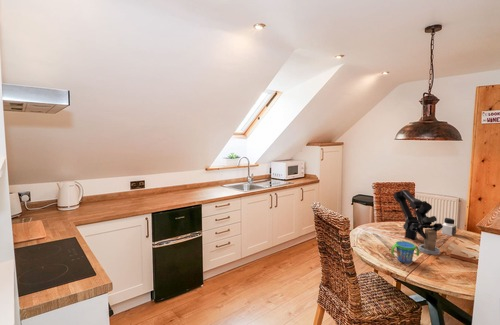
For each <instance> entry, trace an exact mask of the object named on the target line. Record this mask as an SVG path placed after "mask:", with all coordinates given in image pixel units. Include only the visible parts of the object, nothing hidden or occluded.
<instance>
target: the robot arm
mask: <svg viewBox="0 0 500 325" xmlns="http://www.w3.org/2000/svg"><path fill="white" fill-rule="evenodd" d="M393 198H394V200H395V202H396V203H399V205H400V208H401V210H402V213H403V215H404V217H405V222H404V224H403V226H402V227H403V229H404V230H405V234H404V238H405V239H410V240H413V241H414V240H416V239H417V237H418V234H419V235H420V236H421V237H422V238H423V240H424V239H426V236H425V230H424V229H433V230H435V231H436V232H437V234H438V231H441V230H442V228H443V225H442V223H439V222H438V223H435V222H436V221H438V220H437V217H436V215H434V216H433V215H431V216H427V214H428V213H429V212H430V211H431V210H432V209H433V208H432V205H431V203H429V202H427V201H426V200H421V199H419V198H416V197H415V196H414V195H413V194H412V193H411V192H410V191H409V190H408V189H402V190H399V191H397V192H396V191H395V192H394V193H393ZM408 203H409V205H408ZM410 208H411V209H413V210H414V212H413V213H412V211H411V209H410ZM413 214H414V215H415V216H413ZM433 223H434V224H433ZM437 234H436V240H437V239H438V238H437V237H438V235H437Z"/></svg>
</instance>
